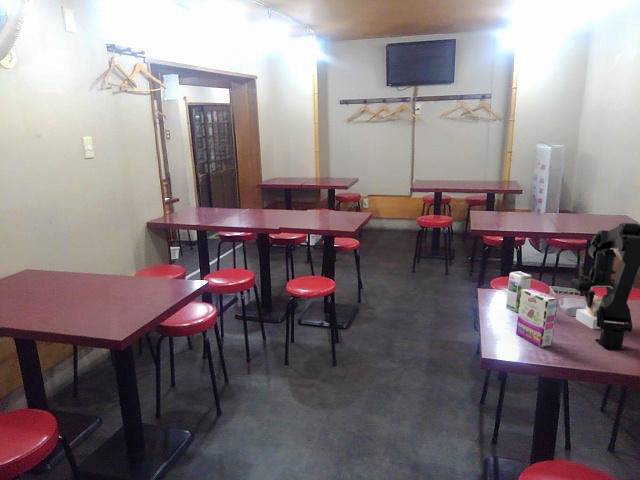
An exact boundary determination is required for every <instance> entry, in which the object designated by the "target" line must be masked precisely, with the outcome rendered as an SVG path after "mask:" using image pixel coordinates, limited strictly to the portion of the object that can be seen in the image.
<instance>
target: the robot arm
mask: <svg viewBox="0 0 640 480" xmlns="http://www.w3.org/2000/svg"><path fill="white" fill-rule="evenodd" d="M614 249H616V250H617V249H618V252H619V255H620V257H621V261H620V265H619V266H618V267H619V268H618V271H616V270H615V264H616V263H615V262H616V258H617V253H616V252H615V250H614ZM588 254H589V256H590V257H591V258H592V259H593V260H594V266H593V265H592V266H591V268H590V269H588V268H587V267H579V268H578V276H579V277H583V278H573V279H572V280H571V282H570V287H571V288H573V289H575V290H576V291H578V292H583V295H584V298H585V302H586V304H587V306H588V307H589V308H591V306H592V302H593V299H594V298H595V295H596V292H595V291H594V288H606V294H604V295H602V297H601V298H602V301H601V303H600V306H599V307H598V309H597V311H596V313H597V324H596V326H597V327H600V328H601V329H600V330H601V331H600V337H599V338H596V339H595V342H596V343H597V344H599V345H600V346H602V347H603V348H604V349H605V350H607V351H609V350H610V351H611V350H612V351H613V350H627V347H626V346H625V345H624V337H625V332H628V333H631V332H632V330H633V322H632V321H633V320H632V314H631V309H630V306H629V304H628V300H629V298H630V295H631V292H632V291H633V288H634V284H635V282H636V279H637V277H638V276H637V275H638V273H639V270H640V224H637V222H636V223H635V222H634V223H633V222H622V223H619V224H618V225H617V226H615V227H613V228H611V229H609V230H602V229H601V230H598V231H597V232H596V233H595V234H594V236H593V238H592V240H591V241H590V247H589V248H588ZM616 273H617V274H616ZM613 275H616V276H615V278H613ZM586 279H587V280H589V281H587V280H586ZM604 321H613V322H617V323H608V322H604Z"/></svg>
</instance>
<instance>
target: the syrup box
mask: <svg viewBox="0 0 640 480" xmlns="http://www.w3.org/2000/svg"><path fill="white" fill-rule="evenodd" d="M508 277H509V279H508V286H507V287H508V288H507V295H506V304H505V308H506V309H509V310H511V311H513V312H516V313H518V312H519V303H520V294H521V290H522V289H528V288H531V281H532V275H531V274H528V273H525V272H522V271H511V272H510V273H509V276H508Z"/></svg>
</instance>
